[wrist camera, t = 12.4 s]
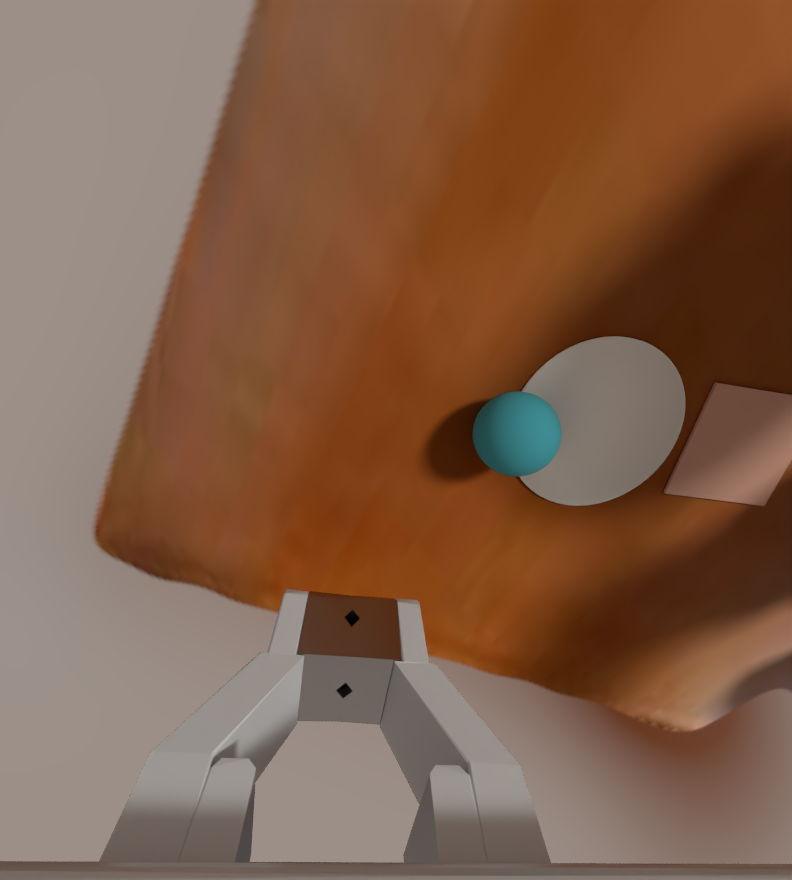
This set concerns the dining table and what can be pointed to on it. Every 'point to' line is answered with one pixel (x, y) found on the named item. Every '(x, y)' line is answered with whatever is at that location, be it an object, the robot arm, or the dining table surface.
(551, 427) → the ball
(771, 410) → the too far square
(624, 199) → the dining table surface
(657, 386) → the disc
